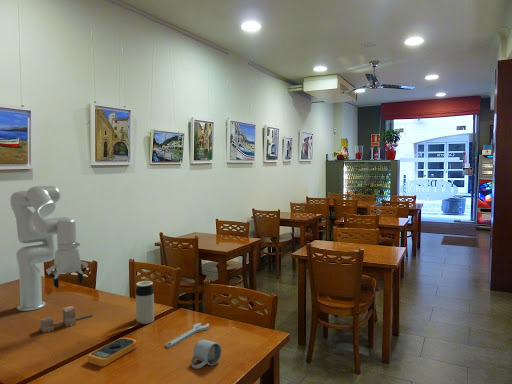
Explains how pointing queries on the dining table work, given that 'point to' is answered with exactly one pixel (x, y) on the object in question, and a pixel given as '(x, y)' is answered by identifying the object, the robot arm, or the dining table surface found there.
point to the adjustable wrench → (187, 334)
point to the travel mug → (144, 302)
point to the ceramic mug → (206, 353)
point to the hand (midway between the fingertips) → (68, 285)
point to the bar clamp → (48, 323)
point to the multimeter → (112, 351)
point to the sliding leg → (69, 316)
